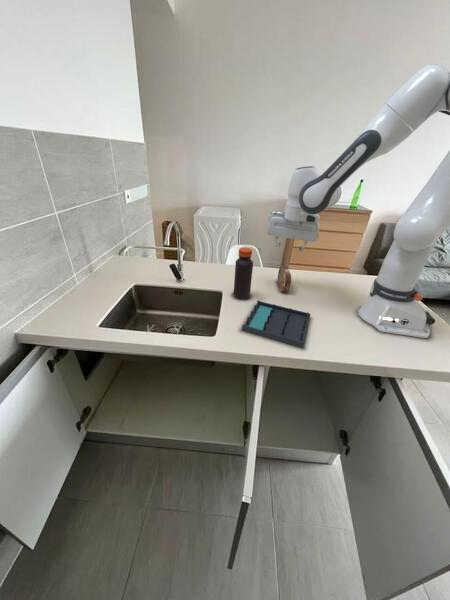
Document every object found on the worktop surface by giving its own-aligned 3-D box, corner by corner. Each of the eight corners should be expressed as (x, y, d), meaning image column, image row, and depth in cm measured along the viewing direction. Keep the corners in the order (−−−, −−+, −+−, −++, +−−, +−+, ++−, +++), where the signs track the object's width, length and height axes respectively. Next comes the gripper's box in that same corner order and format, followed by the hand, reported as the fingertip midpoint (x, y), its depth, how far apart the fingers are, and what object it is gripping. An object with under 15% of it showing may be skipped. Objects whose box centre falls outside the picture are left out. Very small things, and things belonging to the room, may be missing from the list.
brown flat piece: (276, 279, 116) (279, 262, 112) (283, 279, 116) (286, 263, 112) (281, 295, 103) (285, 277, 99) (289, 295, 103) (293, 277, 99)
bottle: (237, 290, 105) (240, 245, 95) (252, 294, 103) (257, 248, 92) (230, 297, 100) (233, 250, 89) (246, 301, 97) (250, 253, 87)
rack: (309, 317, 89) (311, 309, 87) (302, 348, 75) (305, 338, 73) (257, 304, 95) (258, 296, 93) (241, 330, 81) (242, 321, 79)
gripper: (267, 212, 94) (262, 246, 101) (323, 219, 88) (313, 255, 95) (271, 209, 99) (266, 242, 106) (323, 215, 93) (314, 250, 100)
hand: (289, 248), depth 100 cm, fingers open, 8 cm apart
